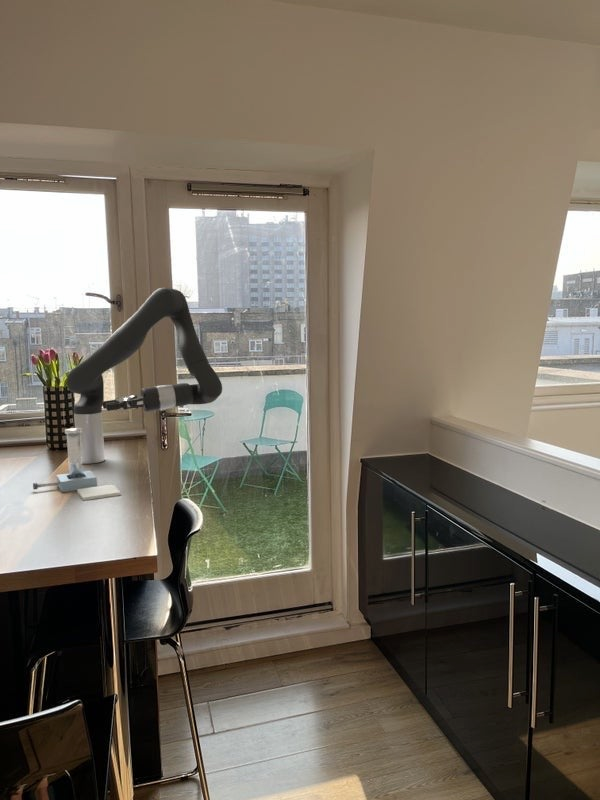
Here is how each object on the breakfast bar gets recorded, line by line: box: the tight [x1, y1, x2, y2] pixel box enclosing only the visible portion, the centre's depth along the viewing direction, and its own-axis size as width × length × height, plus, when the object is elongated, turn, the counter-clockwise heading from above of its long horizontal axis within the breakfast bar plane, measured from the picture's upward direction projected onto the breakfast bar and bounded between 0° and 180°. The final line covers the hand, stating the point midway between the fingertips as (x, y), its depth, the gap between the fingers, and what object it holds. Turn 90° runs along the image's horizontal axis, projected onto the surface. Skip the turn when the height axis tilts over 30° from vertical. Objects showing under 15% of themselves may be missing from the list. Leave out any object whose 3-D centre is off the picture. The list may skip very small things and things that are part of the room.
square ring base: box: [32, 470, 98, 493], centre depth 182 cm, size 10×17×3 cm, turn 119°
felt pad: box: [76, 484, 122, 501], centre depth 175 cm, size 10×10×1 cm
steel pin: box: [64, 427, 84, 479], centre depth 183 cm, size 5×5×17 cm
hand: (104, 406), depth 186 cm, fingers open, 8 cm apart
